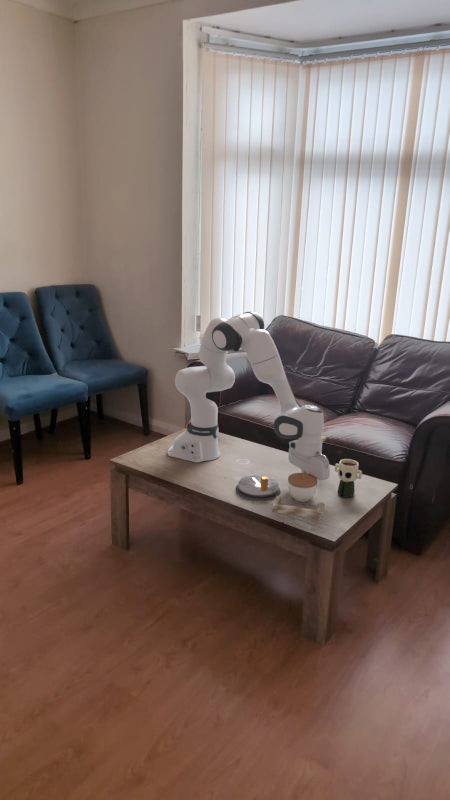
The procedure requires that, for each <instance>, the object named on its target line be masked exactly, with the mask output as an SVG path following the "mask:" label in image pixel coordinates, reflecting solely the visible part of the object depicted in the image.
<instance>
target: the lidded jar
mask: <svg viewBox="0 0 450 800" xmlns="http://www.w3.org/2000/svg"><path fill="white" fill-rule="evenodd" d="M287 487H288V488H287V489H288V492H289V494H290V495H291V497H292V498H293V500H295V501H297V502H302V503H303V502H308V501H309V500H311V499H312V498H313V497H314V496H315V494H316V491H317V487H318V478H316V477H314V476H312V475H311V474H307V473H302V472H295V473H292V474H290V475H288V477H287Z"/></svg>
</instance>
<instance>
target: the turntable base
mask: <svg viewBox="0 0 450 800" xmlns="http://www.w3.org/2000/svg"><path fill="white" fill-rule="evenodd" d="M235 493H236V494H237V495H238V496H240V497H241V498H244V499H245V500H246V499H247V500H250V501H256V502H257V501H260V502H262V501H264V502H265V501H272V500H275V499H276V497H277V496H281V493H282V490H281V488H280V487H279V486H278V492H277V493H276V494H275V495H273V496H271V497H266V498H255V497H250V496H246V495H244V494H242V493H241V492H240V491H239V490H238V484H236V486H235Z"/></svg>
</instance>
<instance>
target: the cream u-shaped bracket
mask: <svg viewBox="0 0 450 800" xmlns="http://www.w3.org/2000/svg"><path fill="white" fill-rule="evenodd" d="M281 502H282V496H281V495H279V496H277V497H276V498H274V501H273V504H272V507H271V508H272V509H271V512H272V513H278V514H279V513H280V514H284V515H290V516H296V517H303V518H310V519H315V520H321V518H322V515H323V513H324V512H323V511H324V509H325V508H324V505H325V504H324V502H320V501H319V503H318V507H317V509H310V508H304V507H300V506H299V507H298V506H292V505H287V504H286V505H285V504H281Z"/></svg>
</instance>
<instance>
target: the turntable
mask: <svg viewBox="0 0 450 800" xmlns="http://www.w3.org/2000/svg"><path fill="white" fill-rule="evenodd" d="M237 483H238V484H237V485H238V490H239V491H240V492H241V493H242V494H244V495H246V496H250V497H255V498H266V497H271V496H273V495H275V494H276V493H277V492H278V487H279V483H278V482H277V480H275V479H273V478H272V477H269V476H267V475H266V476H265V475H248V476H245V477H242V478H240V479H239V480H238V482H237Z"/></svg>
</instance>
